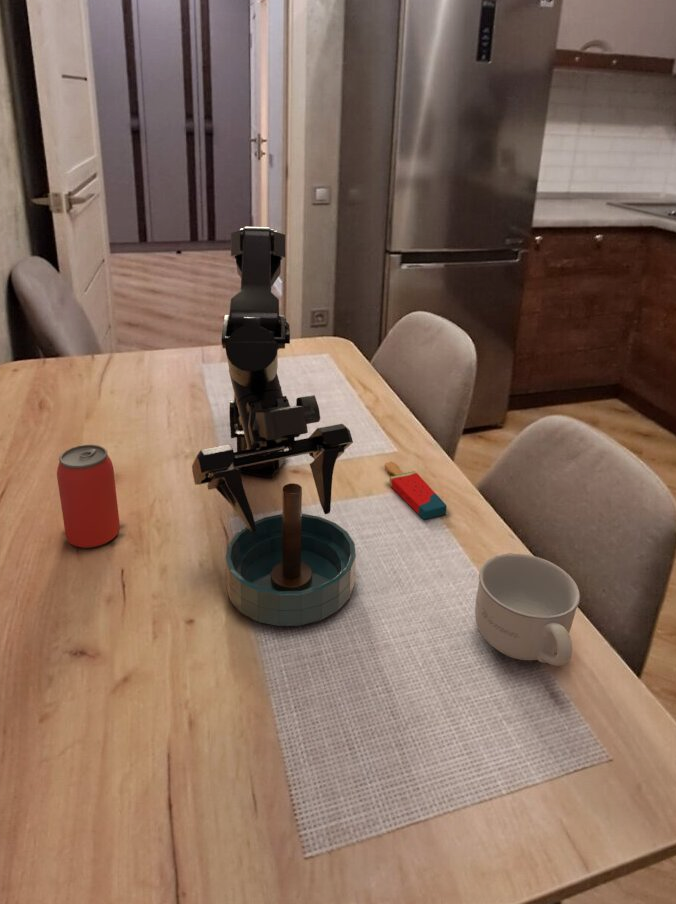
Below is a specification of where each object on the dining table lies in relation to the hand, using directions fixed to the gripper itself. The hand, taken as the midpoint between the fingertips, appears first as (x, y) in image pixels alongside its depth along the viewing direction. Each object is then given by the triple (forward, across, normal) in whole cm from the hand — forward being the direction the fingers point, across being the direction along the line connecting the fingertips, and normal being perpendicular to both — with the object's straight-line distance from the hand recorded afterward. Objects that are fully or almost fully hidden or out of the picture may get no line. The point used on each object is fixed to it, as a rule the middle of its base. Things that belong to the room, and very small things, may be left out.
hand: (291, 522), depth 78 cm
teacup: (+21, +19, -8) cm, 30 cm away
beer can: (-7, -20, +20) cm, 29 cm away
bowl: (+6, 0, +6) cm, 9 cm away
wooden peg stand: (+6, 0, +6) cm, 8 cm away
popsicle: (-2, +24, +15) cm, 28 cm away
